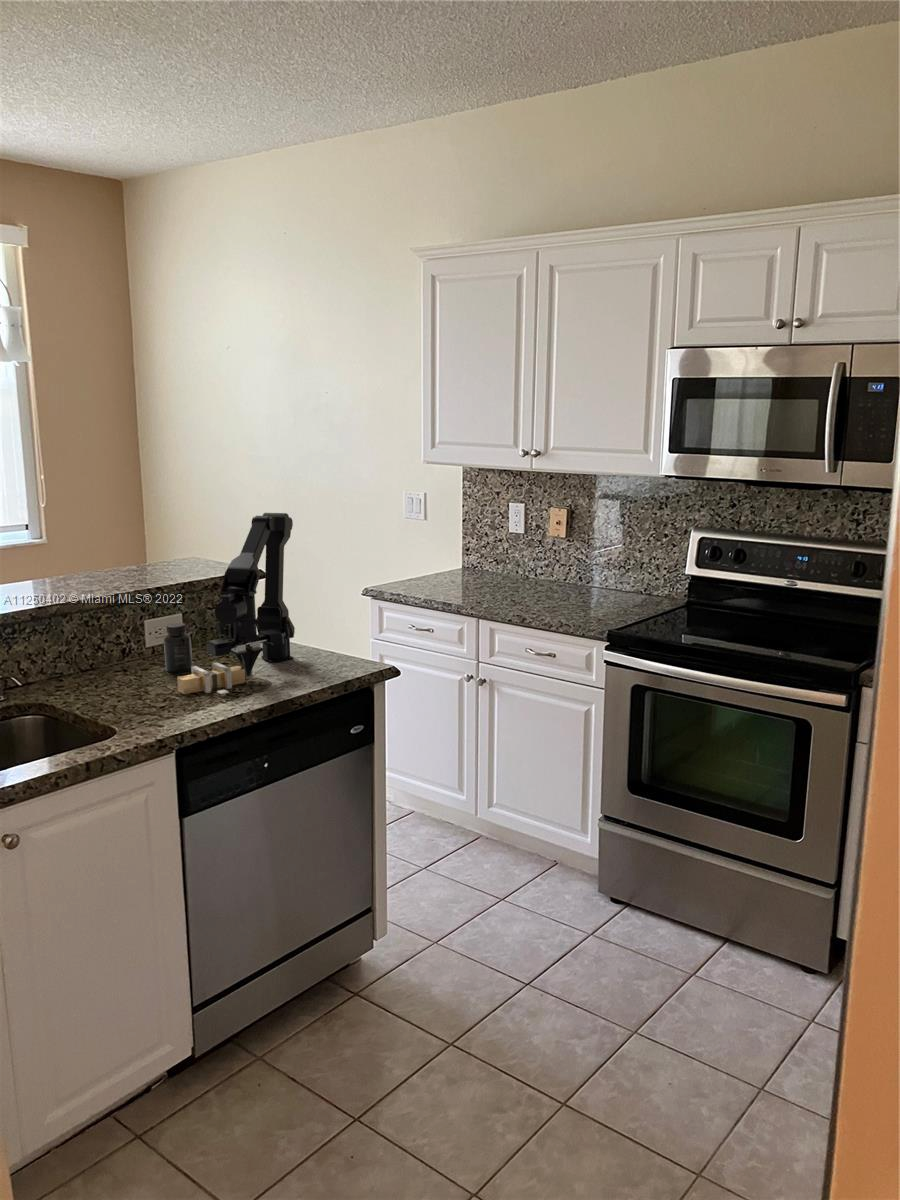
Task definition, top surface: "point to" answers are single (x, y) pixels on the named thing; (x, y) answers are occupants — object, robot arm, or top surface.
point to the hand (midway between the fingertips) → (247, 675)
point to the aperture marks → (222, 691)
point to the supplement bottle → (177, 648)
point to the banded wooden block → (216, 678)
